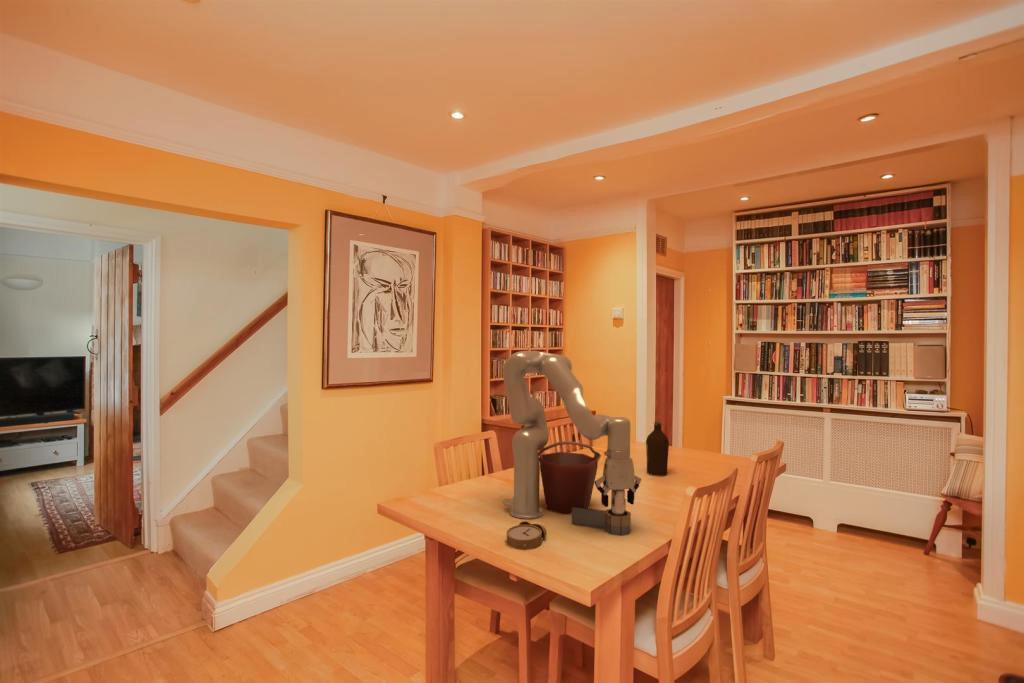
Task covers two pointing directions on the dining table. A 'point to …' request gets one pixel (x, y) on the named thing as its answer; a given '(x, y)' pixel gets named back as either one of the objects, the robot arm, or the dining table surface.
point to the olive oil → (657, 451)
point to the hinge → (602, 520)
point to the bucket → (567, 478)
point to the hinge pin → (618, 502)
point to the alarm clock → (526, 535)
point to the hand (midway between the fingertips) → (617, 504)
